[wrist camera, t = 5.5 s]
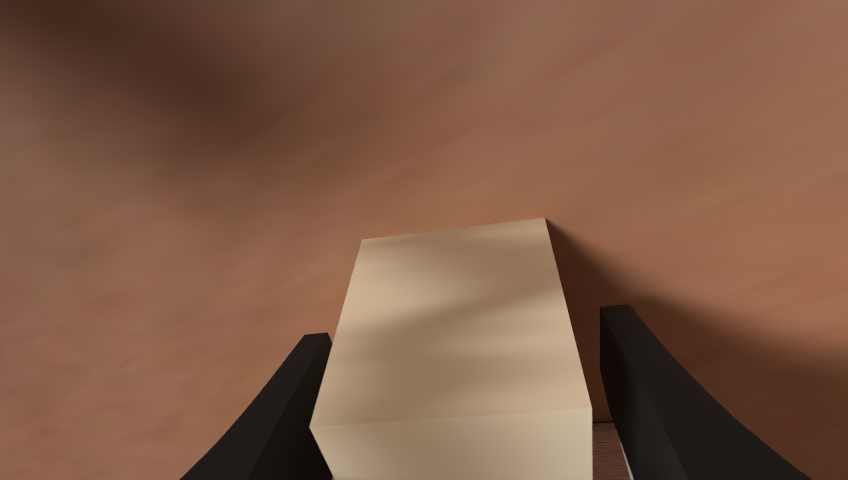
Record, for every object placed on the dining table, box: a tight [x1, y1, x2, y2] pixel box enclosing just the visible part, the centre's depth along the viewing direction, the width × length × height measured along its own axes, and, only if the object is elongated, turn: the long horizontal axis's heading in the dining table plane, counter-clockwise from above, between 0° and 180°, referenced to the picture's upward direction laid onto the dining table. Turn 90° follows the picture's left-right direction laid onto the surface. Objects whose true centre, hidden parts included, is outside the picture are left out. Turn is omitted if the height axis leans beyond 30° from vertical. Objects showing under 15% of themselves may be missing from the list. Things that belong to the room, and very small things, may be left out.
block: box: [309, 218, 593, 480], centre depth 12 cm, size 4×4×6 cm
